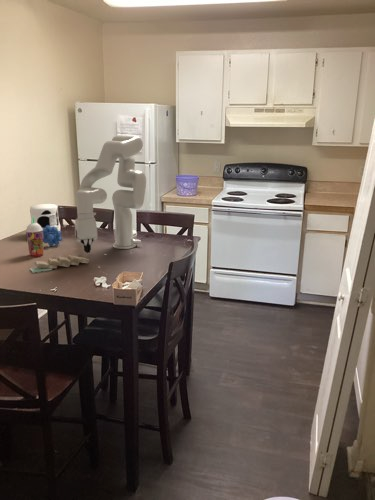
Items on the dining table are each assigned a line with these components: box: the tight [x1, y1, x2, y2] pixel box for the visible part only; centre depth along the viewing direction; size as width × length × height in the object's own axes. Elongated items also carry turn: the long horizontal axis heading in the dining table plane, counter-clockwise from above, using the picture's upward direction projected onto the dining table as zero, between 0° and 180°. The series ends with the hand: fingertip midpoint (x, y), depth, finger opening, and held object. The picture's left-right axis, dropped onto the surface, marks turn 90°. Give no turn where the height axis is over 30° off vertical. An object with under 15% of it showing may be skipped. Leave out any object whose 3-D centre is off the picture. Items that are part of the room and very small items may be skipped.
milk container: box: [29, 203, 61, 232], centre depth 261 cm, size 17×17×18 cm
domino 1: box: [34, 260, 58, 269], centre depth 205 cm, size 2×5×9 cm
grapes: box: [42, 225, 63, 247], centre depth 239 cm, size 12×7×12 cm, turn 107°
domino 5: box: [67, 255, 90, 264], centre depth 213 cm, size 2×5×9 cm
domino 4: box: [57, 256, 80, 267], centre depth 210 cm, size 2×5×9 cm
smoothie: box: [25, 217, 44, 258], centre depth 223 cm, size 8×8×20 cm
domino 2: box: [29, 266, 53, 274], centre depth 204 cm, size 2×5×9 cm
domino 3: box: [47, 257, 71, 268], centre depth 208 cm, size 2×5×9 cm
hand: (87, 252), depth 215 cm, fingers closed
